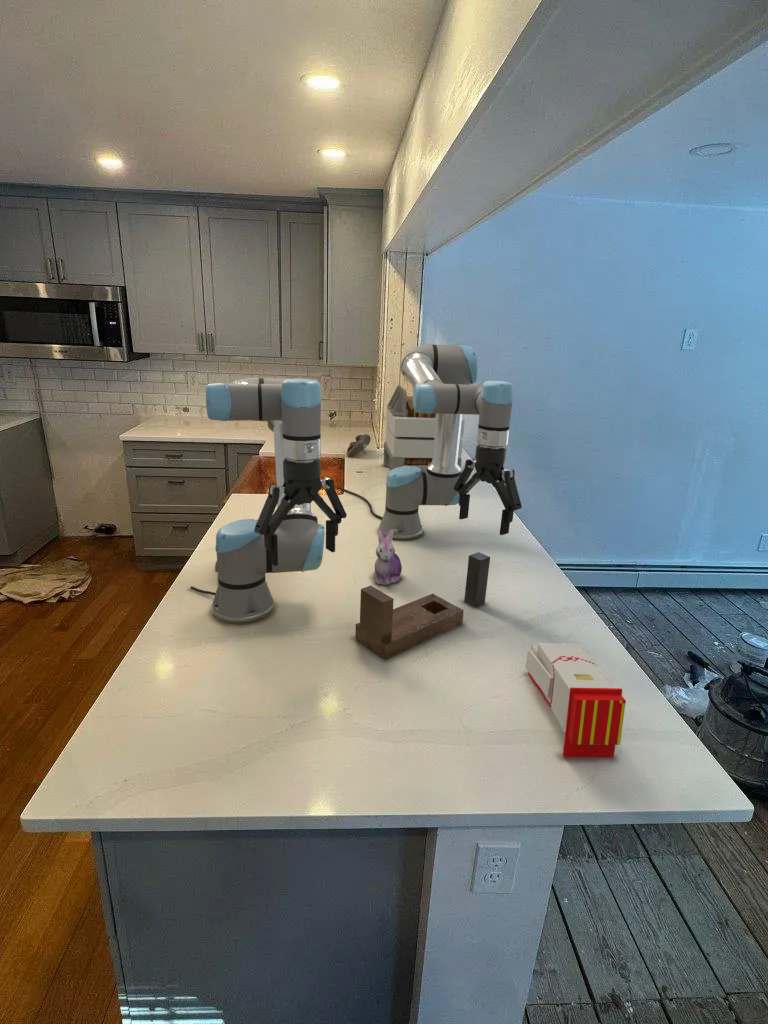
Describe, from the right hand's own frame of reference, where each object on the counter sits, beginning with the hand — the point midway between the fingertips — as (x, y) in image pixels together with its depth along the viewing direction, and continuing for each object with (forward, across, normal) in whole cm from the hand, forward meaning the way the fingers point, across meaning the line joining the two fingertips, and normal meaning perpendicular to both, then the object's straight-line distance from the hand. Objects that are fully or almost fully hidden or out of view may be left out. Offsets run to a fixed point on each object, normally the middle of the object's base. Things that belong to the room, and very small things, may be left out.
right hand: (483, 525), depth 147 cm
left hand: (-2, -7, -51) cm, 51 cm away
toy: (+23, +40, -19) cm, 50 cm away
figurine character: (+22, -57, -43) cm, 75 cm away
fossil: (+22, -148, +76) cm, 168 cm away
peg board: (+23, 0, -24) cm, 33 cm away
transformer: (+22, -102, +78) cm, 130 cm away
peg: (+23, 0, 0) cm, 23 cm away
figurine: (+23, -25, -10) cm, 35 cm away
